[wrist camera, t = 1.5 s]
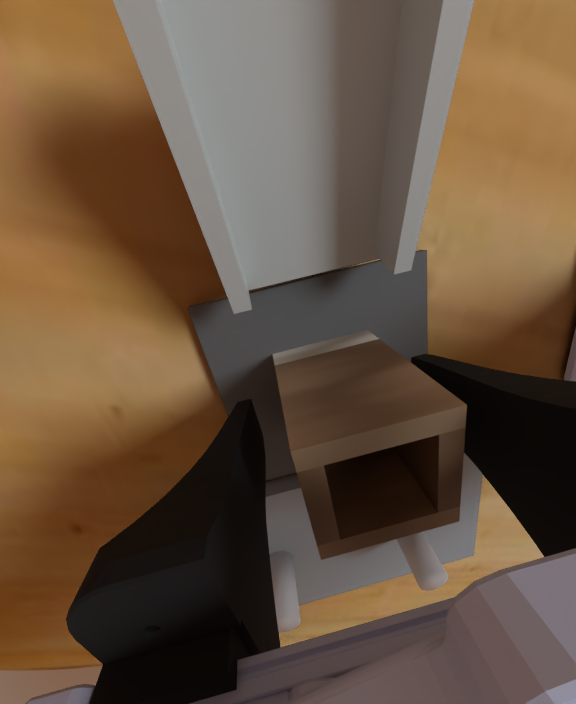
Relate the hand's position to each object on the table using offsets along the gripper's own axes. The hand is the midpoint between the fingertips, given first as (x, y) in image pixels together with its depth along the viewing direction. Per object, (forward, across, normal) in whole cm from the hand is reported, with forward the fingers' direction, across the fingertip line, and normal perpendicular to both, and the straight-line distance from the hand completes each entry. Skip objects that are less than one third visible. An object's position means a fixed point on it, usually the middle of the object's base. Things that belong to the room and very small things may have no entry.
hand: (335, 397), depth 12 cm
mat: (+2, 0, 0) cm, 2 cm away
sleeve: (+1, 0, 0) cm, 1 cm away
